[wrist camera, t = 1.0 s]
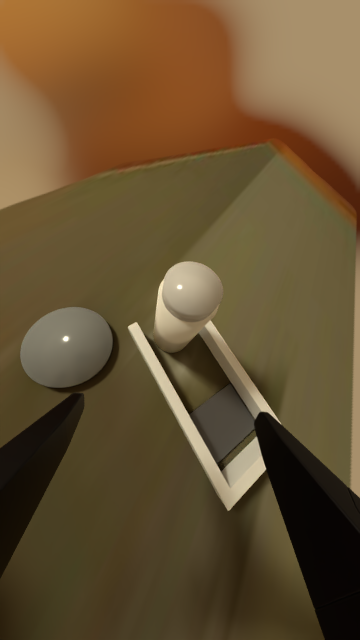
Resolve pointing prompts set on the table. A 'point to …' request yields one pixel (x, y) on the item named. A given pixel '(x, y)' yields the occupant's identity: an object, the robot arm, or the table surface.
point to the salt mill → (185, 304)
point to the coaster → (66, 347)
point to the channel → (217, 418)
